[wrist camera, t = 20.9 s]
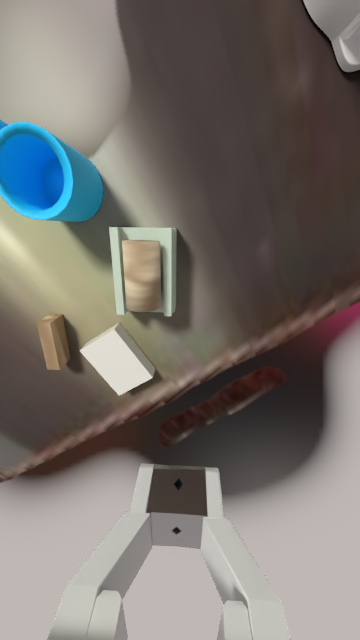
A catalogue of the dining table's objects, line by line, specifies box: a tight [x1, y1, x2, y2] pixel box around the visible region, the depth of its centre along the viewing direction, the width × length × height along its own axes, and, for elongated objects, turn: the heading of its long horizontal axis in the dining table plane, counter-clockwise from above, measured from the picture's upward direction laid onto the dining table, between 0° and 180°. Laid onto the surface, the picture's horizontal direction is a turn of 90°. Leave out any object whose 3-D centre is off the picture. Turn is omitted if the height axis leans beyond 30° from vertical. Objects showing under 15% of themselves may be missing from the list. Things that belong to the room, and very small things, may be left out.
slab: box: [80, 323, 155, 395], centre depth 38 cm, size 10×7×3 cm
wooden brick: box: [37, 314, 71, 370], centre depth 36 cm, size 2×8×4 cm, turn 179°
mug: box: [0, 120, 103, 222], centre depth 26 cm, size 12×8×8 cm
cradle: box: [109, 227, 177, 316], centre depth 31 cm, size 8×11×4 cm
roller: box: [122, 240, 161, 312], centre depth 28 cm, size 4×8×4 cm, turn 179°
